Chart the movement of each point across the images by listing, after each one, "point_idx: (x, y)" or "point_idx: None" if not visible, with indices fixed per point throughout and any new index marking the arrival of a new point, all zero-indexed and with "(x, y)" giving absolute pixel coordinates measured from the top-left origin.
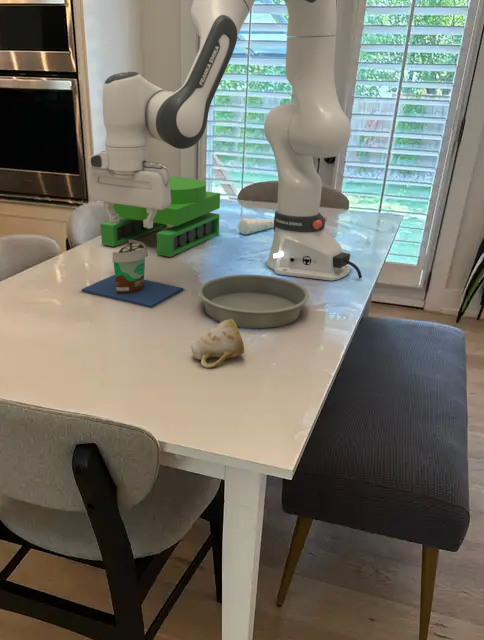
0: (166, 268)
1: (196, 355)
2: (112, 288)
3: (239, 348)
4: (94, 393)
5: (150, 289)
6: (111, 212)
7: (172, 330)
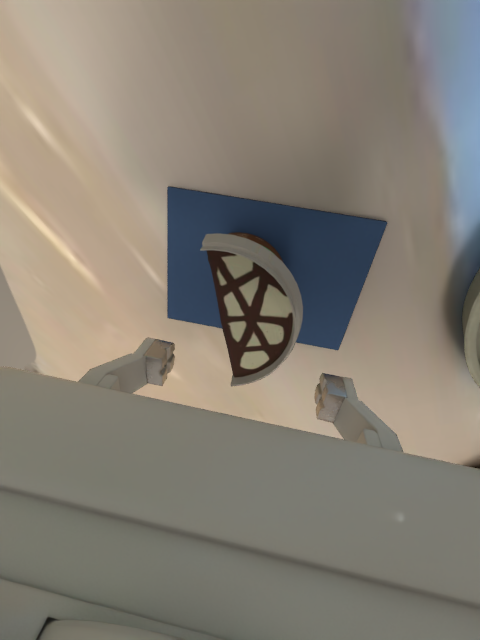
0: (271, 10)
1: None
2: None
3: None
4: None
5: (304, 267)
6: (137, 380)
7: (401, 415)
